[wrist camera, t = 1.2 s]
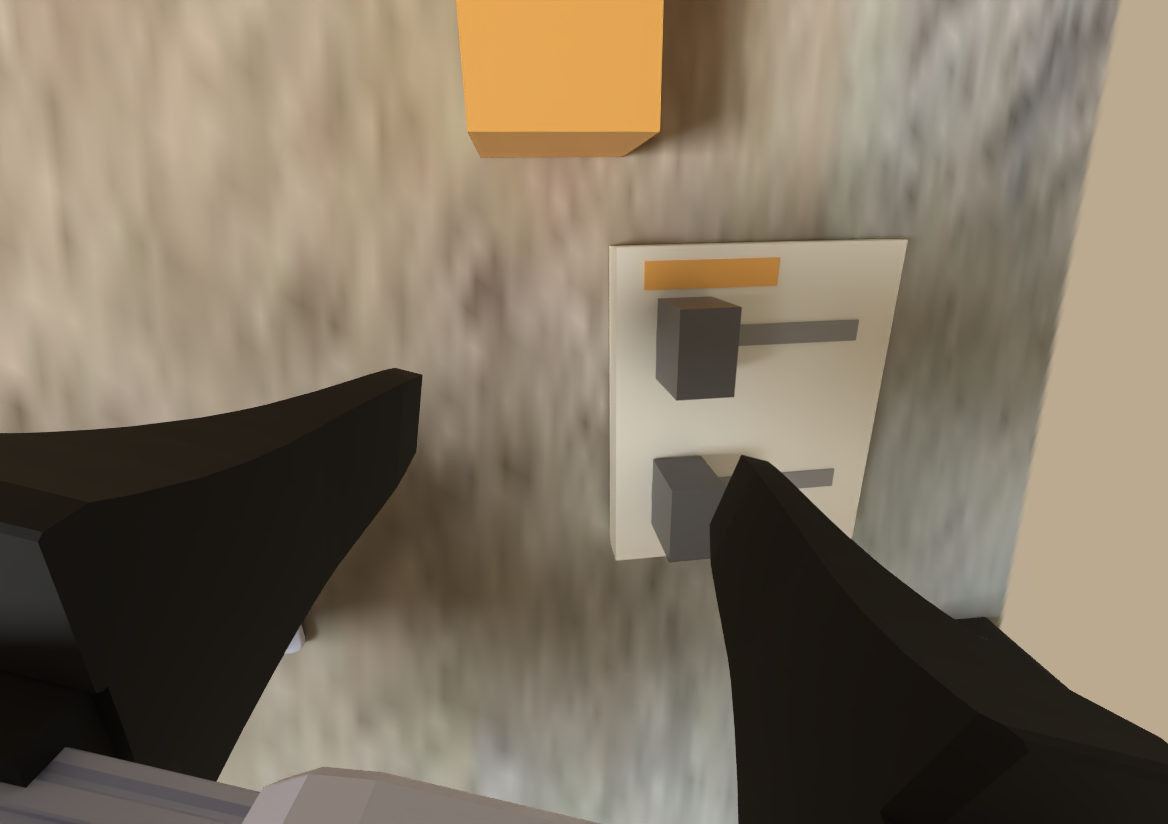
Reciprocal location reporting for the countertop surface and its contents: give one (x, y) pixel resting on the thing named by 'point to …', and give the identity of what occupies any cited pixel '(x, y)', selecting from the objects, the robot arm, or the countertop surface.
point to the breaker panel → (752, 369)
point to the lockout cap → (561, 75)
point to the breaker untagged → (684, 506)
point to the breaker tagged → (697, 347)
